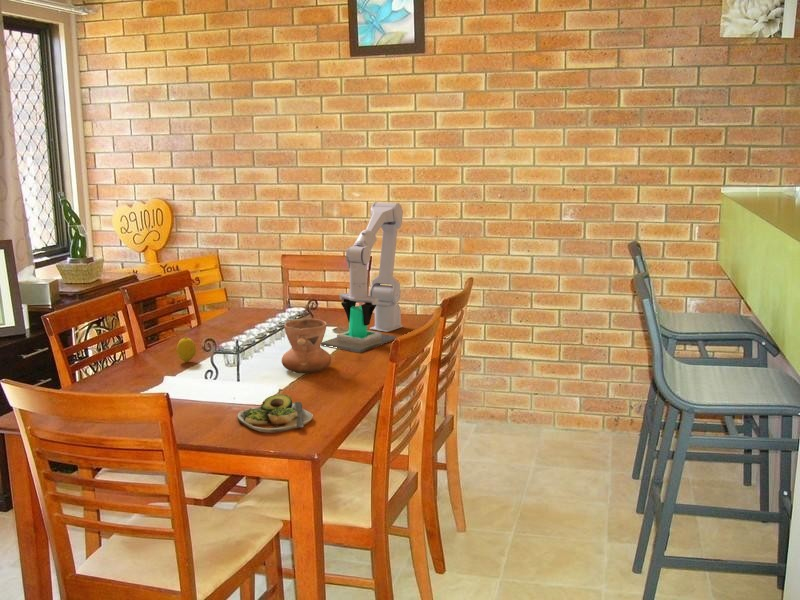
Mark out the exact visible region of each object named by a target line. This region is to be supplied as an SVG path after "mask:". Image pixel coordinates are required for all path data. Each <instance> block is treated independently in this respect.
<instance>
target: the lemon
mask: <svg viewBox="0 0 800 600" xmlns="http://www.w3.org/2000/svg"><path fill="white" fill-rule="evenodd" d="M196 351H197V349H196V344H195V342H194V340H193V339H192V338H189V337H188V336H183V338H181V339H180V340H179V341H178V343H177V346H176V353H177V356H178V358H179V360H182V361H183V362H185V363H189V362H190V361H191V360H193V358H194V357H195V356H196Z"/></svg>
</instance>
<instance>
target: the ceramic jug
mask: <svg viewBox="0 0 800 600" xmlns="http://www.w3.org/2000/svg"><path fill="white" fill-rule="evenodd" d="M327 325H328V324H327V322H326V321H325V320H322V319H319V318H311V317H308V318H307V317H305V318H296V319H291V320H289V321H286V322H285V323H284V326H283V327H284V331H285V334H286V337H287V340H288V341H289V344H290V347H291V348H290V349H289V350H287V351H286V352H285V353H283V355H282V358H281V364H282V366H283V367H284V368H285V369H286V370H288V371H289V372H292V373H297V374H313V373H317V372H320V371H323V370H325V369H327V368H328V367H329V366H330V365H331V363H332V356H331V354H330V353H329V352H328V351H327V350H325V349H324V348H323V347H322V346H321V343H322V342H323V339H324V338H325V334H326V331H327Z"/></svg>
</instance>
